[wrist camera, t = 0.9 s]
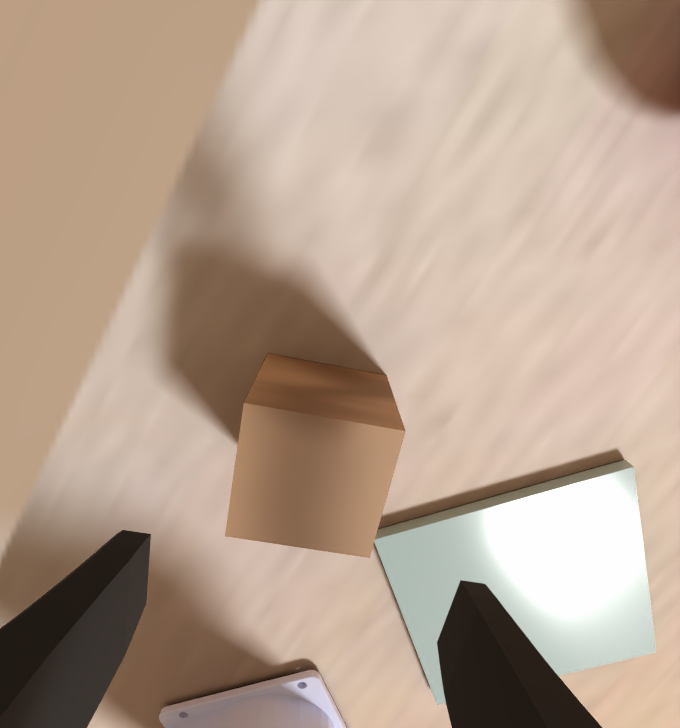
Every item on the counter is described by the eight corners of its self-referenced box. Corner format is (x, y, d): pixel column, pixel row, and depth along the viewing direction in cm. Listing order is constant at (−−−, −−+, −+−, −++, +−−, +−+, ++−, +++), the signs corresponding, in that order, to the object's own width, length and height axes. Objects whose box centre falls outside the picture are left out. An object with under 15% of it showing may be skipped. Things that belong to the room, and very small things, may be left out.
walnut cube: (386, 374, 18) (405, 431, 13) (360, 474, 19) (369, 557, 15) (268, 352, 17) (243, 402, 13) (252, 456, 19) (225, 536, 14)
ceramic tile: (434, 693, 24) (437, 704, 23) (372, 530, 20) (373, 539, 20) (648, 641, 23) (656, 652, 22) (624, 459, 19) (633, 466, 18)
